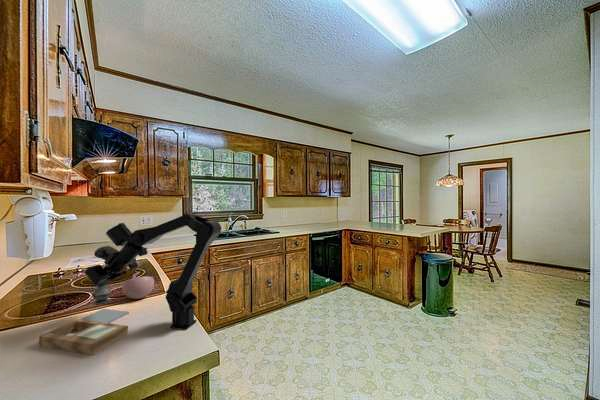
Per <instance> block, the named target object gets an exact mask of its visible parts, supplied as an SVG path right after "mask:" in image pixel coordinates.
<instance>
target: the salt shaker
mask: <svg viewBox="0 0 600 400" xmlns="http://www.w3.org/2000/svg"><path fill="white" fill-rule="evenodd" d="M108 283H109V282H108V281H107V282H105V283H102V284H100V285H98V286H96V291H94V292H93V293H91V296H92V298H93V300H95V301H93V303H92V305H94V306H100V305H101V306H102V305H106V304H109V303H111V299H109V298H110V296H111V294H112V291H113V290H111V289H108Z"/></svg>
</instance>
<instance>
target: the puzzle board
mask: <svg viewBox="0 0 600 400" xmlns="http://www.w3.org/2000/svg"><path fill="white" fill-rule="evenodd" d="M76 331H78V332H76ZM73 332H76V333H75V334H72V335H71V336H70V335H69V334H71V333H73ZM128 335H129V326H128V325H125V324H117V323H112V322H111V323H104V322H97V321H90V320H82V319H81V318H78V319H76V320H74V321H70V322H69V323H66V324H64V325H62V326H59V327H57V328H55V329H52V330H50V331H47V332H45V333H43V334H40V335H39V337H38V338H39V340H38V341H39V343H38V347H44V348H50V349H57V350H61V351H62V350H63V351H65V352H72V353H79V354H84V355H91V356H94V355H96V354H98V353H100V352H101V351H103V350H106V349H107V348H109V347H110V346H112V345H114V343H116V342H119V341H121V340H122V339H123V338H126V337H127V336H128Z"/></svg>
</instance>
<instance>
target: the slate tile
mask: <svg viewBox="0 0 600 400" xmlns="http://www.w3.org/2000/svg"><path fill="white" fill-rule="evenodd" d="M128 314H130V311H126V310H119V309H118V310H117V309H111V308H110V309H109V308H102V309H100V310H98V311H95V312H93V313H90V314H88V315H85V316H84V317H80V319H82V320H90V321H97V322H104V323H111V324H112V323H113V322H114V321H115V322H116V321H117V320H118V319H121V318H123V317H125V316H127V315H128Z"/></svg>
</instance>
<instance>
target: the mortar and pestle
mask: <svg viewBox="0 0 600 400" xmlns="http://www.w3.org/2000/svg"><path fill="white" fill-rule="evenodd" d="M140 273H141V272H140V271H137V272H136V273H133V274H132V278H129V279H127V280H124V282H122V291H123V293H124V295H125V296H126V297H128V298H129V299H133V300H138V299H143V298H145V297H147V296H148V295H149V294H150V293H151V292H152V291H153V289H154V286H155V279H154V277H153V276H146V275H145V276H138V275H140Z"/></svg>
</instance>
